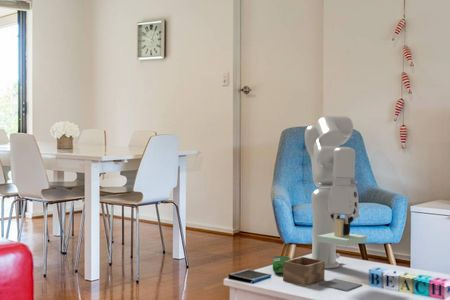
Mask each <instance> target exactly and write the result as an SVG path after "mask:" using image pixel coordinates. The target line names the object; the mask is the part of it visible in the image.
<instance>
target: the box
mask: <svg viewBox="0 0 450 300" xmlns="http://www.w3.org/2000/svg"><path fill="white" fill-rule="evenodd" d="M325 270H326V268H325V261H321V260H316V259H312V257H310V258H309V257H305V256H300V257H296V258H293V259H290V260H288V261H284V262H283V273H282V281H283V282H287V283H291V284H295V285H300V286H304V287H308V286H311V285H315V284H317V283H320V282H323V281H325V272H326V271H325Z"/></svg>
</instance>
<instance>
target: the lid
mask: <svg viewBox="0 0 450 300" xmlns="http://www.w3.org/2000/svg"><path fill="white" fill-rule="evenodd" d="M344 224H345V217H340V218H339V219H335V228H334V233H328V234H323V235H318V236H317V241H318V242H324V243H330V244H336V246H337V245H338V246H344V247H348V246H349V247H350V246H353V245H357V244H361V243H365V242H367V235H365V234H362V235H361V234H357V233H351V232H350V233H349V235H343V226H344Z"/></svg>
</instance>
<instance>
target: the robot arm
mask: <svg viewBox="0 0 450 300" xmlns="http://www.w3.org/2000/svg"><path fill="white" fill-rule="evenodd" d="M353 124H354V123H353V121H352V119H351V118H350V117H348V116H345V115H344V116H342V115H341V116H339V115H338V116H337V115H327V116H321V117H320V118H319V119H318V120H317V122H316V124H311V125H309V126H307V127H306V128H305V130H304V143H305V147H306V150H307V152H308V155H309V157H310V162H311V173H312V179H313V183H314V186H315V187H317V189H314V191H312V193H311V196H310V197H311V198H310V199H311V200H310V201H311V209H312V239H311V241H312V242H311V243H312V246H311V248H312V249H311V259H316V260H321V261H325V270H326V269H329V270H330V269H337V268H339V267H340V262H339V261H337V259H339V258H340V257H341V254H340V253H337V252H336V251H337V244H330V243H324V242H318V241H317V236H318V235H323V234H328V233H334V228H335V219H339V218H342V217H341V216H343V215H344V218H345V224H344V226H343V235H349V233H350V234H351V224H352V223H353V222H354V220H358V219H359V218H360V214H359V209H360V206H359V193H358V188H357V186H355V185H358V180H357V179H356V177H355V176H356V173H355V170H356V150H355V148H352V147H350V146H342V145H344V144H345V143H347V141H348V140H349V139H350V138H351V136H352V135H353V133H354V132H353V131H354V125H353Z"/></svg>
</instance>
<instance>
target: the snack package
mask: <svg viewBox="0 0 450 300" xmlns="http://www.w3.org/2000/svg"><path fill="white" fill-rule="evenodd" d="M288 260H291V257H289V256H287V255H276V256H274V257H273V259H272V271H273V272H274V273H275V274H283V262H284V261H288Z"/></svg>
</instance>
